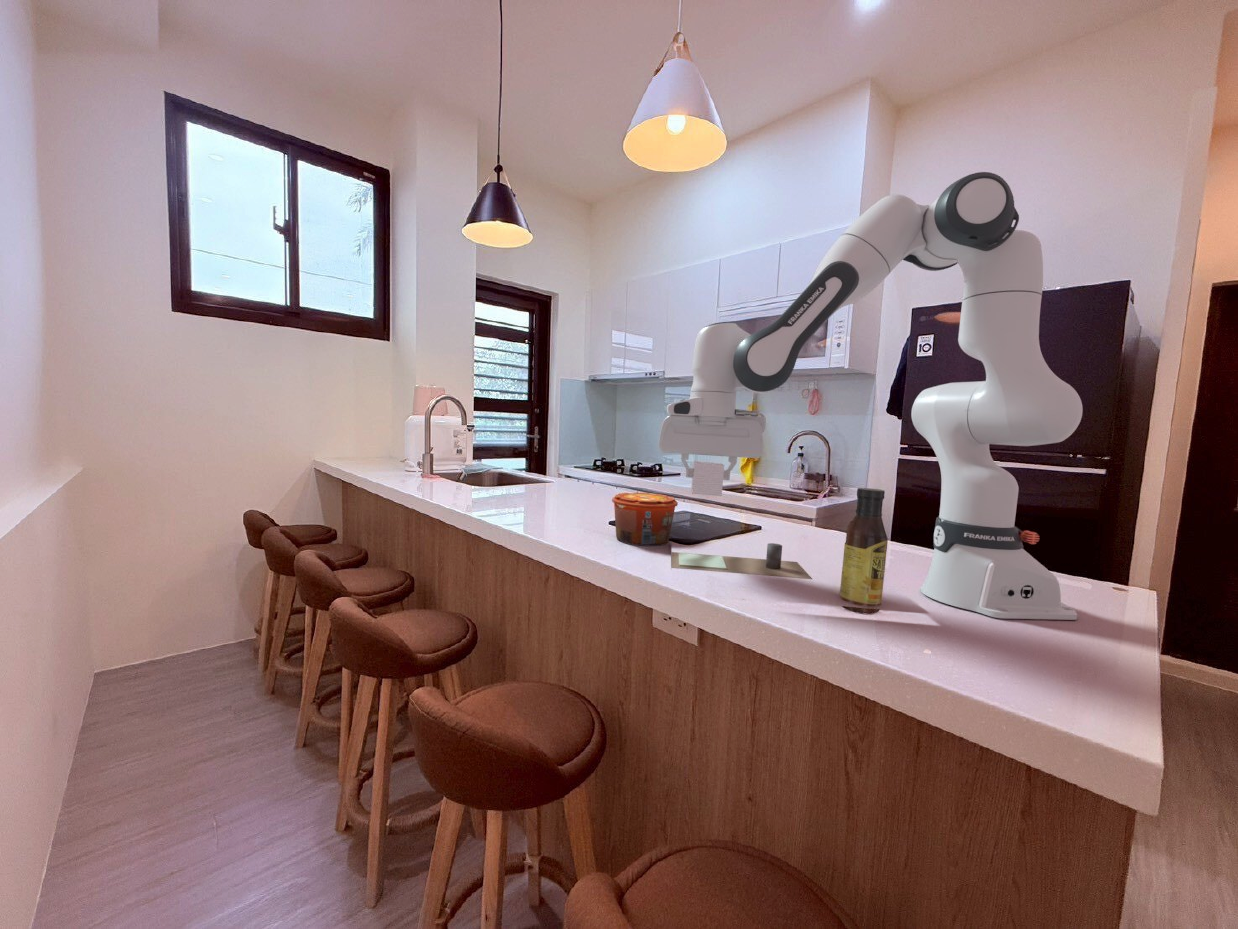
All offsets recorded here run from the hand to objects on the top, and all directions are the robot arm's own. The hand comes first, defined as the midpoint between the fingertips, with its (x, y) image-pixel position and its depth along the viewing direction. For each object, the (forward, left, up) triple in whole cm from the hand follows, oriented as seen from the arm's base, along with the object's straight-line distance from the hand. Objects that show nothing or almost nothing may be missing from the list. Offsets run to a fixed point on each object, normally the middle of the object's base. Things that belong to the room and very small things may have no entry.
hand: (707, 478), depth 102 cm
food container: (+13, -22, -18) cm, 32 cm away
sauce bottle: (-25, +16, -18) cm, 35 cm away
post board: (-7, 0, -18) cm, 20 cm away
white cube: (0, 0, -3) cm, 3 cm away
